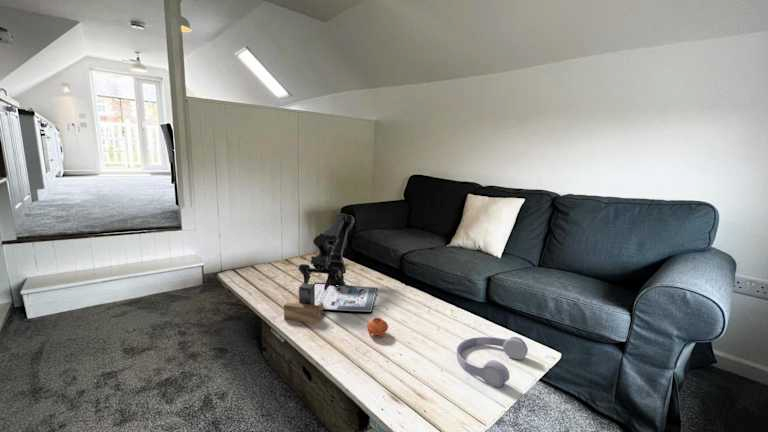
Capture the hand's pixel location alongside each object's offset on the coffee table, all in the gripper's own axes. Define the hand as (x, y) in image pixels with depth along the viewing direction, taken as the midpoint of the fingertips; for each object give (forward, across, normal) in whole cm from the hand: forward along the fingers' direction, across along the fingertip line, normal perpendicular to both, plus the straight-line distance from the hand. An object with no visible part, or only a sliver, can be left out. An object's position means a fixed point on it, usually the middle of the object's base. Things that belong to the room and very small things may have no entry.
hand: (314, 288), depth 149 cm
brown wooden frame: (+11, 0, 0) cm, 11 cm away
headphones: (+22, +71, -11) cm, 75 cm away
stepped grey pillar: (+11, 0, 0) cm, 11 cm away
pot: (+17, +32, -6) cm, 37 cm away
